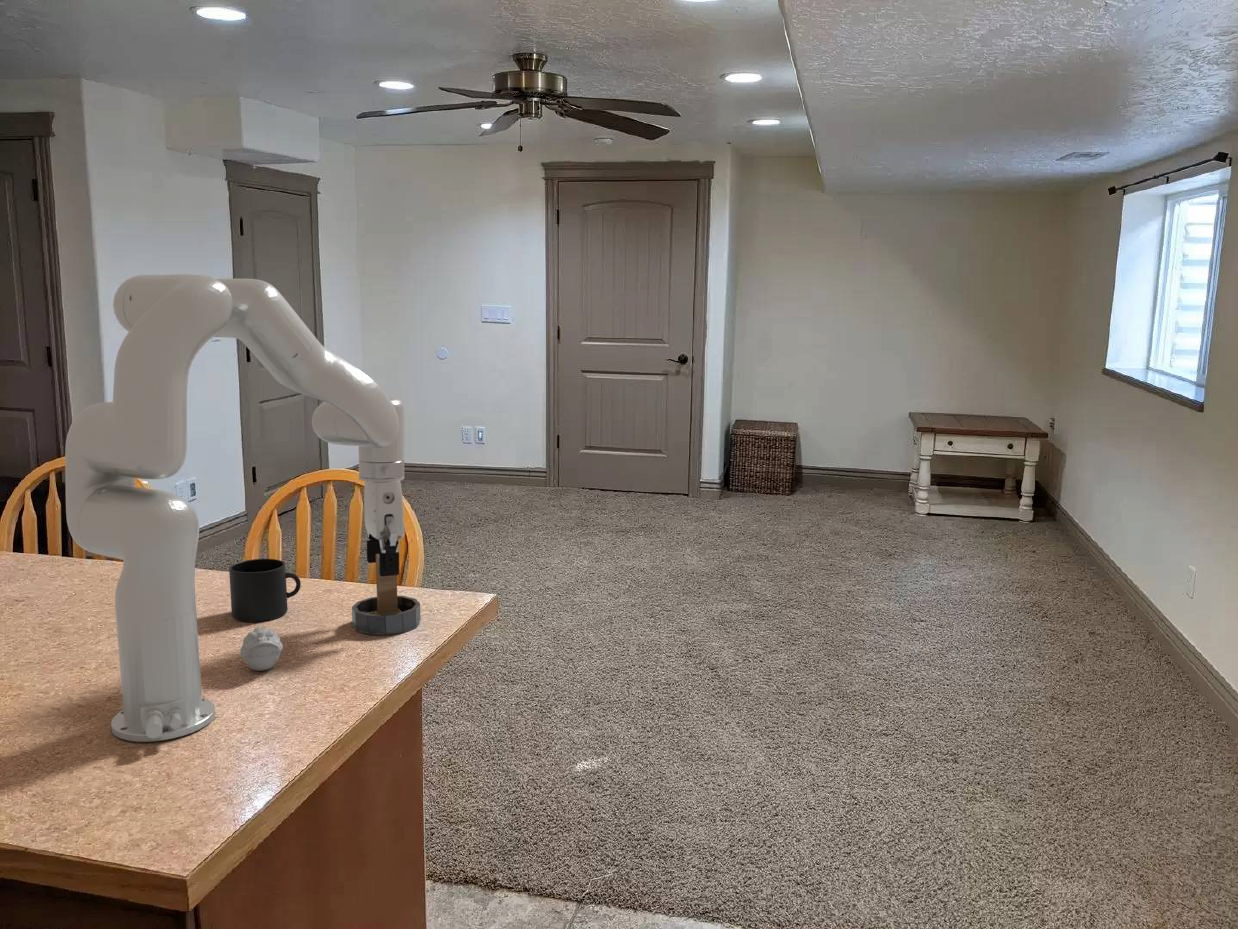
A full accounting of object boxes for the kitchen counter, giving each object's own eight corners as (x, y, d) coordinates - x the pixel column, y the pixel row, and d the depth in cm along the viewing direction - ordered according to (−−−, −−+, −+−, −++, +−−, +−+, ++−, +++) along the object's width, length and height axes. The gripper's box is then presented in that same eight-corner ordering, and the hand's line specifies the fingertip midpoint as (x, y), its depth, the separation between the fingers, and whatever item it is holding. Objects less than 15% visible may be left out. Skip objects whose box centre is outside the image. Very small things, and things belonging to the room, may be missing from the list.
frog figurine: (243, 681, 144) (240, 636, 143) (239, 665, 151) (237, 622, 149) (286, 675, 147) (284, 631, 146) (280, 659, 153) (278, 617, 152)
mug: (307, 616, 174) (304, 567, 172) (235, 626, 168) (232, 575, 167) (296, 601, 182) (294, 554, 181) (228, 610, 176) (225, 562, 175)
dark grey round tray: (426, 630, 167) (426, 610, 167) (361, 639, 162) (360, 619, 162) (410, 611, 177) (410, 592, 177) (347, 619, 172) (347, 600, 172)
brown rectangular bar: (397, 622, 170) (396, 555, 168) (380, 624, 168) (378, 557, 166) (394, 618, 172) (392, 552, 170) (377, 620, 170) (375, 554, 168)
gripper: (416, 477, 159) (417, 579, 162) (391, 462, 174) (392, 555, 177) (370, 479, 156) (371, 583, 158) (349, 464, 171) (350, 559, 174)
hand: (382, 568), depth 168 cm, fingers open, 9 cm apart
